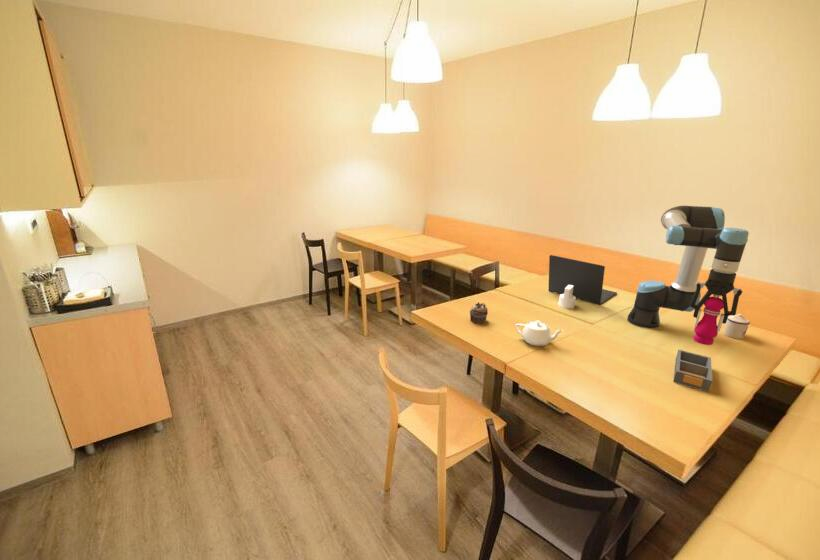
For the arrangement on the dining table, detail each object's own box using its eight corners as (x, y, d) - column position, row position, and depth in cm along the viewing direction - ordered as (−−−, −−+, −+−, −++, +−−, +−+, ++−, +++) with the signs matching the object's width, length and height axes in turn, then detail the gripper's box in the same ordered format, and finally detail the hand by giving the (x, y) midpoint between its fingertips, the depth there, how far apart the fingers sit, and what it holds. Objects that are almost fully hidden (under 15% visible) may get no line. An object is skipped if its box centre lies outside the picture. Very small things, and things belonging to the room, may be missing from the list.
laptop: (616, 294, 248) (624, 255, 239) (596, 308, 225) (604, 266, 216) (567, 282, 270) (573, 246, 262) (544, 293, 247) (549, 254, 239)
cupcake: (486, 316, 209) (487, 300, 206) (487, 324, 200) (489, 307, 197) (468, 315, 210) (469, 299, 207) (469, 323, 201) (470, 306, 197)
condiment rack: (673, 382, 151) (676, 371, 150) (675, 359, 169) (678, 349, 167) (708, 392, 145) (712, 381, 143) (707, 367, 162) (710, 357, 161)
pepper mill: (687, 337, 150) (700, 290, 144) (703, 336, 151) (717, 290, 144) (701, 346, 143) (716, 297, 137) (719, 345, 144) (734, 296, 138)
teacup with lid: (746, 341, 187) (754, 319, 183) (723, 336, 191) (730, 315, 187) (741, 331, 197) (748, 311, 193) (719, 327, 201) (725, 307, 197)
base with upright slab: (560, 301, 233) (563, 283, 229) (575, 305, 228) (579, 286, 224) (556, 306, 226) (559, 287, 222) (572, 309, 221) (575, 290, 217)
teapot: (511, 342, 181) (513, 322, 177) (516, 331, 193) (518, 312, 189) (559, 353, 172) (563, 332, 168) (562, 340, 184) (565, 320, 180)
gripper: (691, 268, 140) (676, 324, 148) (759, 278, 130) (739, 338, 137) (691, 263, 146) (677, 318, 154) (756, 273, 136) (737, 331, 143)
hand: (706, 327), depth 145 cm, fingers closed on pepper mill, 6 cm apart
